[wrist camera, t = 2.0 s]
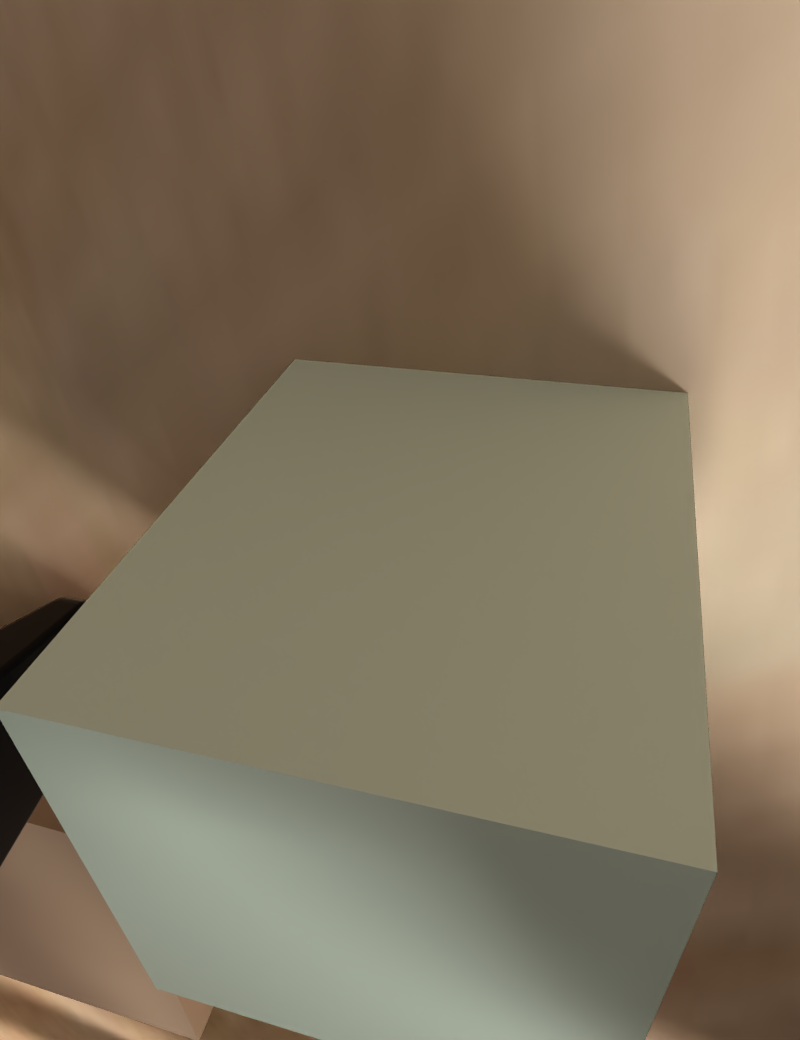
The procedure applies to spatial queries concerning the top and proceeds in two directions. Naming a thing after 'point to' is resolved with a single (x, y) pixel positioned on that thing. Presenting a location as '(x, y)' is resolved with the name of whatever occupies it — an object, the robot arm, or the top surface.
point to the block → (76, 934)
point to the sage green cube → (401, 713)
